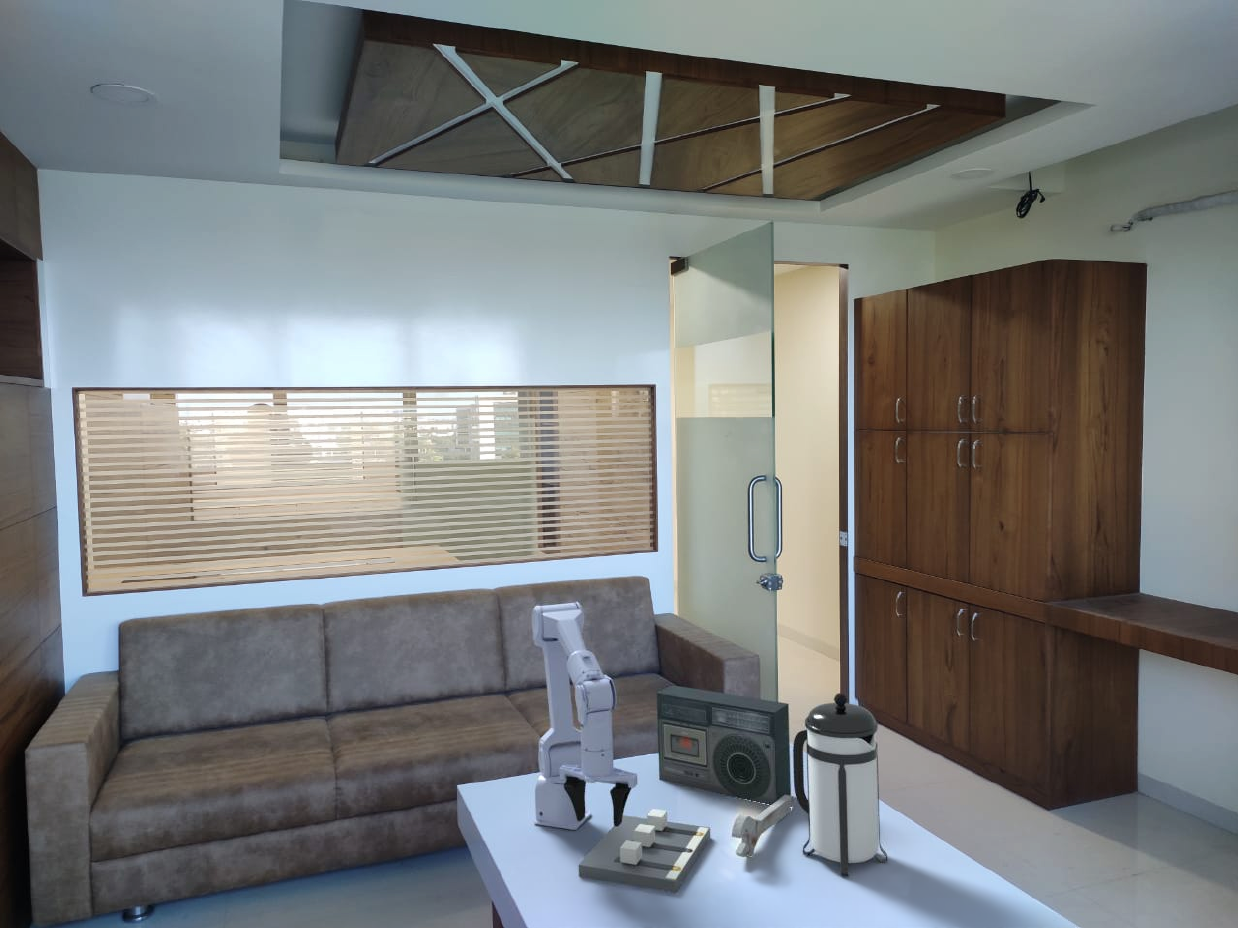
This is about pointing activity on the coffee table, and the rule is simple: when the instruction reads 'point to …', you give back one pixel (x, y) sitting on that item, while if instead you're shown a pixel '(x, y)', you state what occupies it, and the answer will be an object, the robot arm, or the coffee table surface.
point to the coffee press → (840, 782)
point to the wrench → (759, 824)
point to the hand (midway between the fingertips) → (599, 821)
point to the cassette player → (724, 743)
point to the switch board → (647, 855)
